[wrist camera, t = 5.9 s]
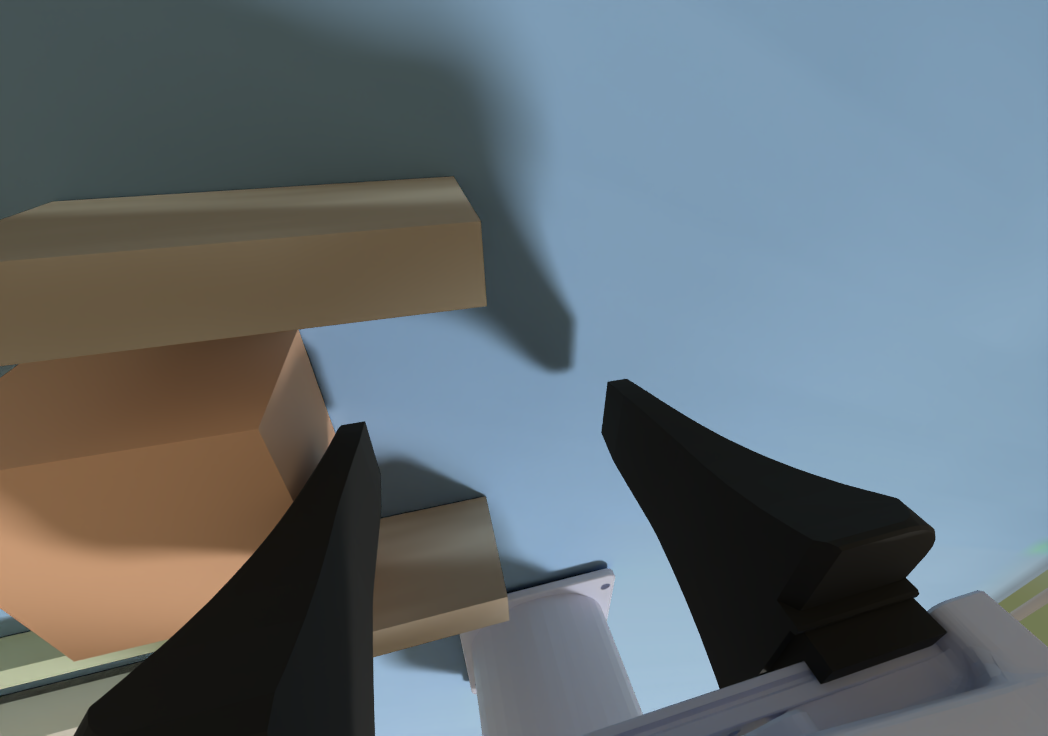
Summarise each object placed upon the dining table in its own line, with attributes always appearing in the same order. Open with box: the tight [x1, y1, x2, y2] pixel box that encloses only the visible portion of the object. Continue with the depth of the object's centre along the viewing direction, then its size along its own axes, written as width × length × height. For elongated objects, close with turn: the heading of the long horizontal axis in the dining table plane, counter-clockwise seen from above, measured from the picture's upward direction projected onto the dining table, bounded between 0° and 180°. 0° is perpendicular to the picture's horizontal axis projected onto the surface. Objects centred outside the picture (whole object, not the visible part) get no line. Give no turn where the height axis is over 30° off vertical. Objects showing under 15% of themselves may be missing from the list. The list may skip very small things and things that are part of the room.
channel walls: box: [0, 176, 509, 657], centre depth 11 cm, size 13×8×4 cm, turn 1°
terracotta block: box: [0, 329, 335, 662], centre depth 11 cm, size 6×6×4 cm
